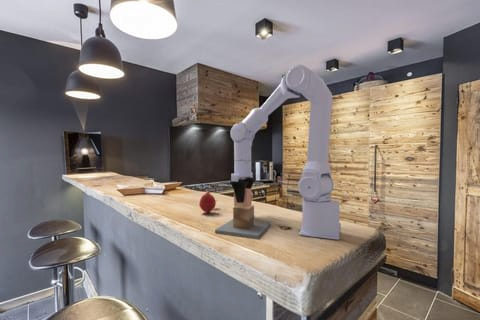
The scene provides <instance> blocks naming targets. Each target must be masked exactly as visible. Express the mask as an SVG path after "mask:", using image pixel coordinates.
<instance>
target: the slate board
mask: <svg viewBox="0 0 480 320" xmlns="http://www.w3.org/2000/svg"><path fill="white" fill-rule="evenodd" d="M271 224H272V223H271V222H269V221H268V222H267V221H260V220H259V221H258V220H254V225H253V226H252V227H251V228H250V229H242V228H234V227H233V218H232V219H230V220H229V221H228V222H226V223H224V224H223V225H220V226H219V227H217V228H216V229H215V230H214V232H215V233H214V234H220V235H228V236H236V237H242V238H249V239H257V240H258V239H260V238H261V236H263V234H264V233H265V232H266V231H267V230H268V229H269V228H270V227H271Z"/></svg>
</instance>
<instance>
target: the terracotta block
mask: <svg viewBox="0 0 480 320" xmlns="http://www.w3.org/2000/svg"><path fill="white" fill-rule="evenodd" d="M252 195H253V194H252V188H251V189H248V188H246V189H245V196H244V202H243V203H238V202H237V201H236V196H235V193H234V192H233V205H234V206H233V207H235V206H237V205H239V204H241V205H253V204H252V202H253V201H252V200H253V199H252Z"/></svg>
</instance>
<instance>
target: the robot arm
mask: <svg viewBox="0 0 480 320" xmlns="http://www.w3.org/2000/svg"><path fill="white" fill-rule="evenodd" d="M301 95H302V96H303V97H304V98H305V99H306V100H308V101H309V102H310V107H309V109H310V110H309V120H308V121H309V123H308V124H309V125H308V141H307V156H306V163H305V165H304V167H303V168H302V172H301V173H302V174H301V177H300V179H299V181H298V184H297V189H298V192H299V194H300V196H301V197H302V198H301V199H302V201H301V206H302V209H301V211H302V214H301V215H302V218H301V219H302V220H301V221H302V226H301V228H300V231H299V233H298V235H299V236H306V237H313V238H322V239H329V240H331V239H332V240H340V231H341V229H342V228H341V227H342V225H341V224H342V223H341V222H340V201H339V200H333V199H332V197H331V195H330V194H331V193H332V191H333V190H334V186H335V183H334V181H333V178H332V169H331V167H330V165H329V153H330V152H329V151H330V140H331V139H330V138H331V123H332V112H333V111H332V109H333V108H332V107H333V94H332V92H331V90H330V89H329V87H328V85H327V84H326V83H325V80H324V78H322V77H320V76H319V75H317V74H316V73H315V72H314V71H313V70H311V69H310V68H309V67H306V66H305V65H303V64H296V65H294V66H292V67H291V68H290V69H289V70H288V72H287V73H286V74H284V75H283V76H282V78H281V81H280V83H279V85H278V86H277V87H276V89H275V90H274V91H273V92H272V93H271V95H270V96H269V97H268V98H267V99H266V100H265V102H264V103H263V104H262V105H261V106H260V107H255V108H253V109H251V110H250V111H249V112H250V113H248V115H246V117H245V118H244V119H243V120H242V121H240V122H239V123H235V124H233V126H232V127H231V129H230V138H231V139H232V141H233V150H234V151H233V155H234V156H233V158H234V159H233V161H234V165H233V166H234V167H233V168H234V169H233V170H234V173H231V174H230V176H231V177H230V182H229V183H230V186H231V188H232V190H233V194H234V193H235V196H236V201H237V202H238V203H243V202H244V196H245V189H246V188H248V189H251V190H252V188H253V185H254V183H255V178H253V177H254V176H253V175H254V174H253V172H252V146H253V140H254V139H255V135H256V133H257V132H259V130H260V129H261V128H263V126H264V125H266V123H268V120H269V116H270V115H271V114H272V113H273V112H274V111H275V110H277V109H278V107H280V106H281V105H282V104H283V103H284V102H286V101H287V100H288V99H296V98H297V99H298V98H301Z"/></svg>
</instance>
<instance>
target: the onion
mask: <svg viewBox="0 0 480 320" xmlns="http://www.w3.org/2000/svg"><path fill="white" fill-rule="evenodd" d="M216 204H217V202H216V198H215V197H214V196H213V195H212V194H211V192H210V191H209V190H207V191H206V192H205V193H204V194H203V195H202V196H201V198H200V200H199V207H200V210H202V211H203V212H205V213H206V214H210V213H211V212H212V211H213V210H214V209H215V208H216Z"/></svg>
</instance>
